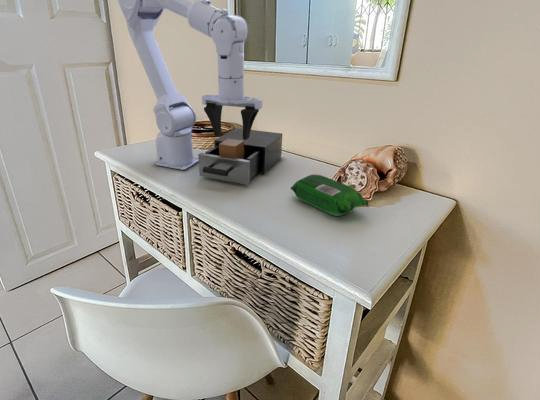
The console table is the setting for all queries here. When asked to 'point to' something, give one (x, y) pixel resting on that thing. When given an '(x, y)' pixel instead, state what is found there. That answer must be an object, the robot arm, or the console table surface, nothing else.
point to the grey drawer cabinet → (259, 145)
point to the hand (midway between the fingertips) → (231, 136)
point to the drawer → (230, 165)
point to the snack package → (328, 194)
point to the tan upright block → (232, 148)
